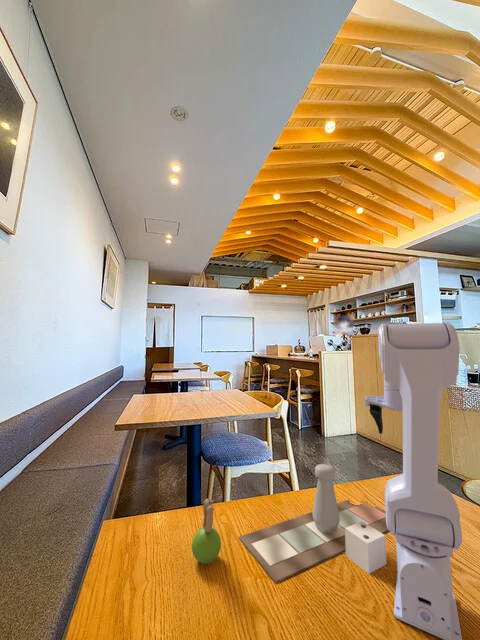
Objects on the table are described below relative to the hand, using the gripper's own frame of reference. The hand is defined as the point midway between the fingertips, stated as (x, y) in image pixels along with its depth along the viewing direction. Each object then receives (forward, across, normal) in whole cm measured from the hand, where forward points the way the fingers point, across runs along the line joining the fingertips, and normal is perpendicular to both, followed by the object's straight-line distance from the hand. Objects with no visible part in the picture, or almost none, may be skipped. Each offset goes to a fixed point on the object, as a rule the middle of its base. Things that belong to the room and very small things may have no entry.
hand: (398, 434), depth 70 cm
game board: (+12, +13, +22) cm, 29 cm away
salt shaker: (+12, +13, +22) cm, 29 cm away
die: (+10, +4, +27) cm, 29 cm away
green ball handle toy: (+5, +29, +43) cm, 52 cm away
